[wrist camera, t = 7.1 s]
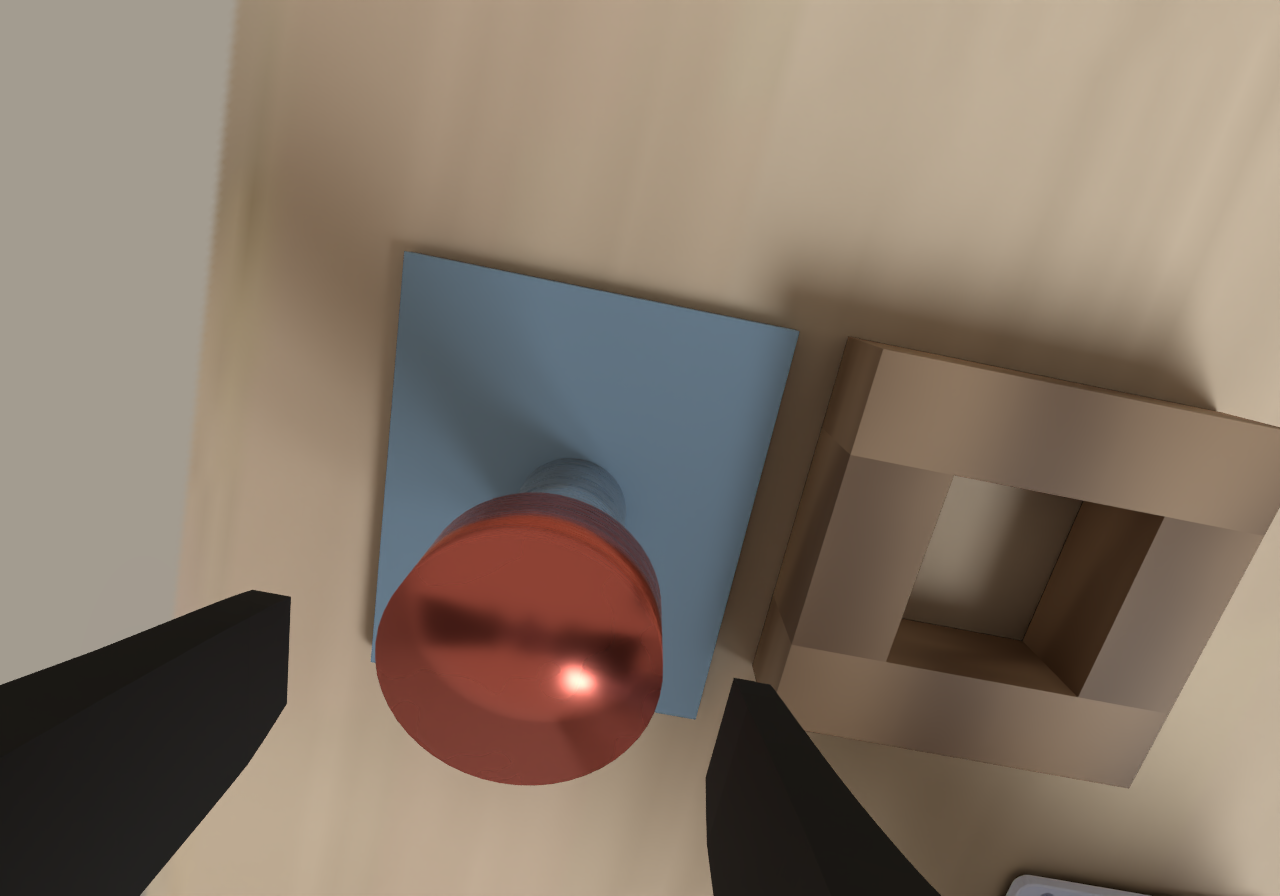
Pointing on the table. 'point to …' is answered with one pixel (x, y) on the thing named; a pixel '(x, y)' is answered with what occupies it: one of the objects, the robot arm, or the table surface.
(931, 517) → the eye block
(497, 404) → the mat
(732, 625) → the table surface
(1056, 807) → the table surface
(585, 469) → the red mushroom head
